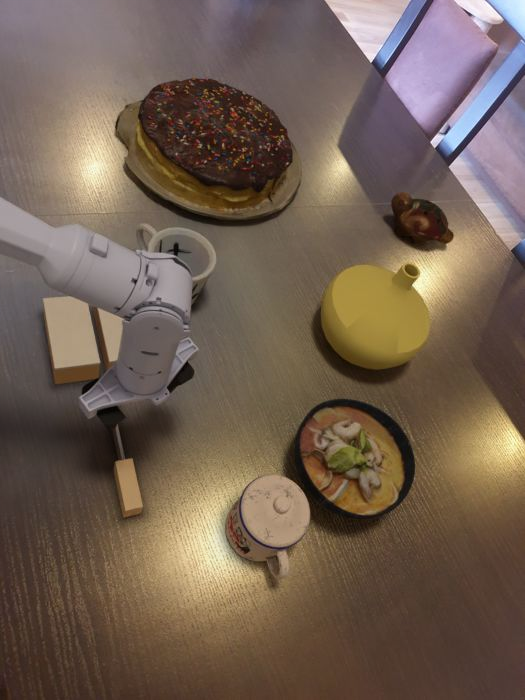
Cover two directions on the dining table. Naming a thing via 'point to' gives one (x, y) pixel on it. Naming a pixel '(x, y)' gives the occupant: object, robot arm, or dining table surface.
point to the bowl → (353, 459)
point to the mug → (182, 251)
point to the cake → (210, 150)
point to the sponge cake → (79, 338)
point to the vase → (375, 316)
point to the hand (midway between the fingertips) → (133, 407)
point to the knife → (126, 481)
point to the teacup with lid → (268, 521)
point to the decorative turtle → (420, 220)
